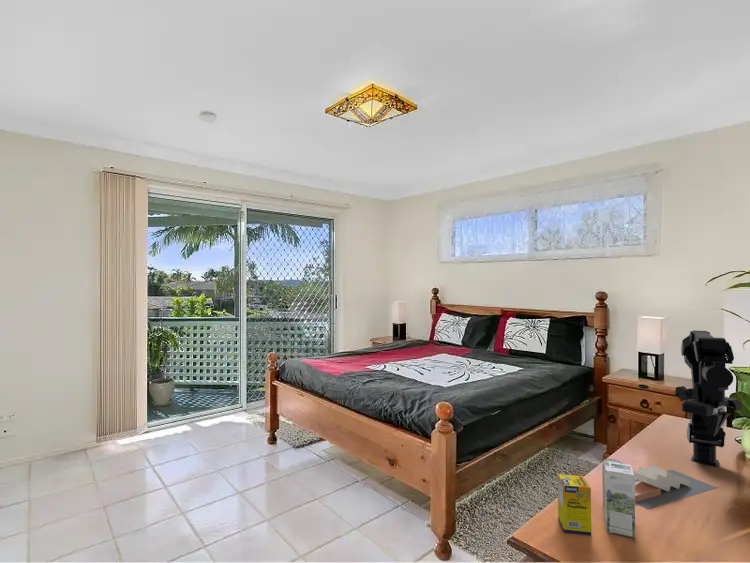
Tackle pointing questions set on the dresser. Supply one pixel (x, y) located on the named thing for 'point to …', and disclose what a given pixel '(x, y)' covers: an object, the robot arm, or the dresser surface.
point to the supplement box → (574, 504)
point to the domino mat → (676, 492)
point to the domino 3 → (668, 475)
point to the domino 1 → (651, 481)
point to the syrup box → (619, 499)
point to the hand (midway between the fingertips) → (712, 435)
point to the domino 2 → (659, 477)
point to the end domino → (645, 491)
